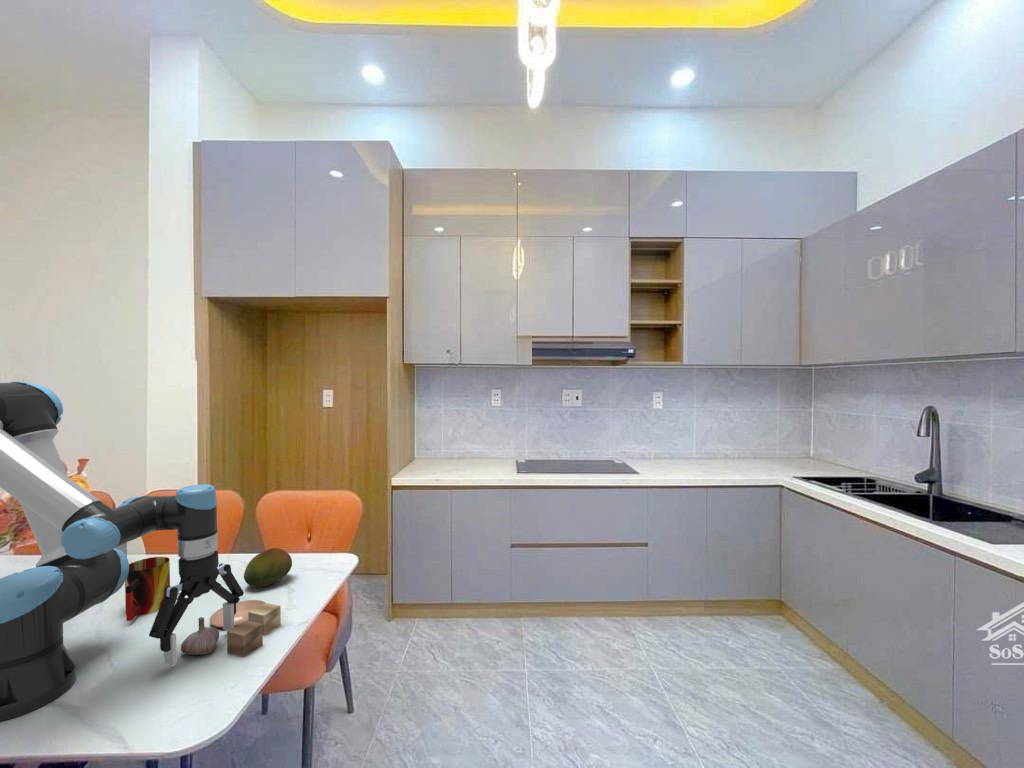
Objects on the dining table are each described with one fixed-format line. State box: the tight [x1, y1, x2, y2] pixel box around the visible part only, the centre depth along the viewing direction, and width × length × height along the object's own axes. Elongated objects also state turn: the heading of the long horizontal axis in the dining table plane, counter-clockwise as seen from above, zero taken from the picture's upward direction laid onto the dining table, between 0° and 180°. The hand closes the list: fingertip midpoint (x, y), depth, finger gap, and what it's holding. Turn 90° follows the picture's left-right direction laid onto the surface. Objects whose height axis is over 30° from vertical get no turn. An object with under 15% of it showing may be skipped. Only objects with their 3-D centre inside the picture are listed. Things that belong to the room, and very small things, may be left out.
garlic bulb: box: [180, 616, 220, 656], centre depth 104 cm, size 8×7×8 cm
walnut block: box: [226, 620, 264, 658], centre depth 105 cm, size 5×5×5 cm
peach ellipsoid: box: [209, 599, 266, 629], centre depth 119 cm, size 13×13×1 cm
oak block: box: [248, 602, 282, 637], centre depth 114 cm, size 5×5×5 cm
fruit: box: [243, 547, 293, 588], centre depth 138 cm, size 12×12×10 cm
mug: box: [124, 556, 171, 622], centre depth 123 cm, size 10×14×12 cm
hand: (201, 646), depth 104 cm, fingers open, 13 cm apart
